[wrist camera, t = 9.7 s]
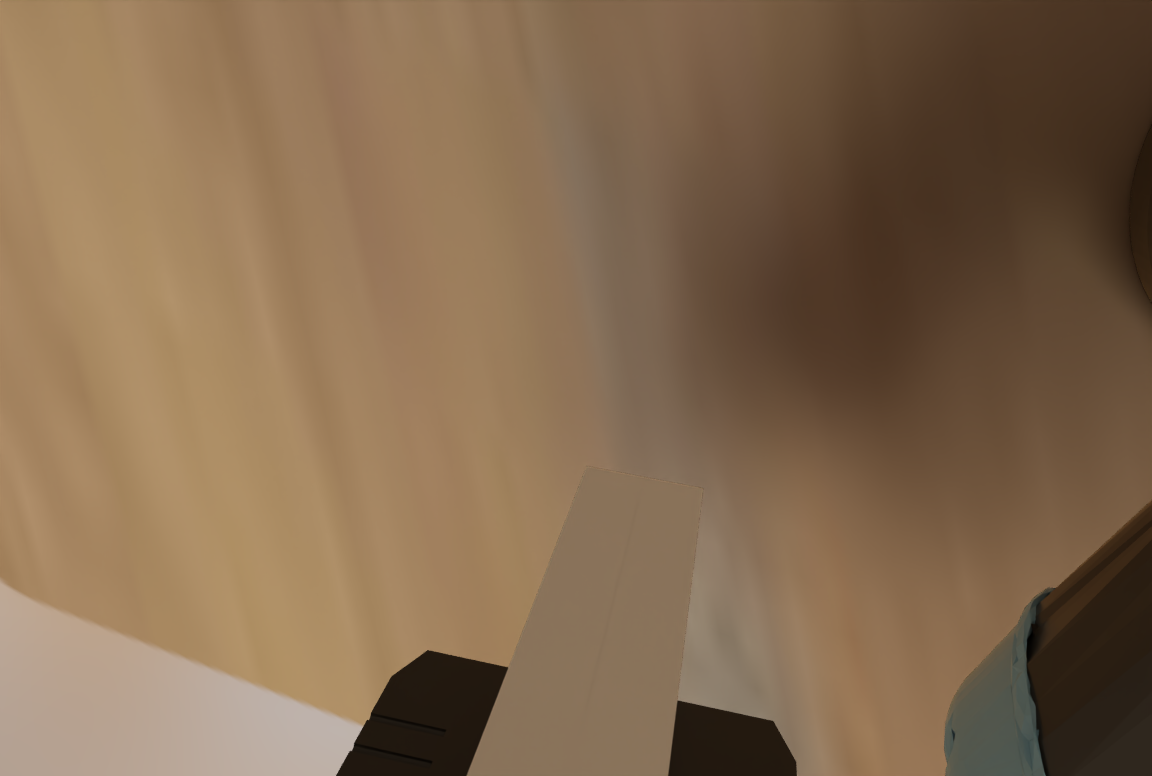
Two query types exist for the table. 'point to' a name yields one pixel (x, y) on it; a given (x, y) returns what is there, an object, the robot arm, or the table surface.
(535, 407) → the table surface
